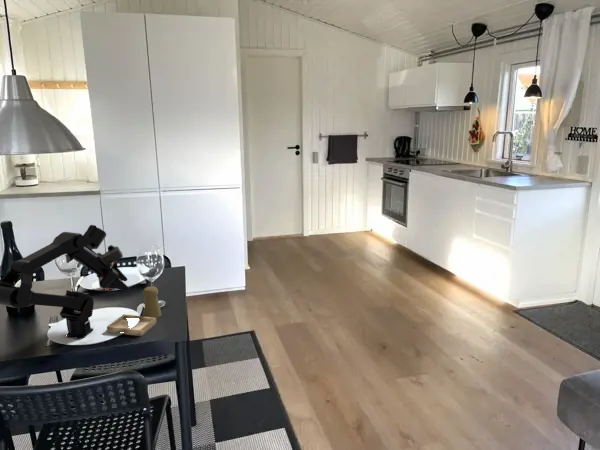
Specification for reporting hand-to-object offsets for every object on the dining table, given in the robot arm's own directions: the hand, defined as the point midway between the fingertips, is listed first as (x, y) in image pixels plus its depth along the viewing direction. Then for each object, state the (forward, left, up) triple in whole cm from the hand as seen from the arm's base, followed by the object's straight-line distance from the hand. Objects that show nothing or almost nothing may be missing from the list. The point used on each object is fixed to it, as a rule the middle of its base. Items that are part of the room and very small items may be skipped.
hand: (127, 284), depth 160 cm
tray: (+4, -5, -13) cm, 15 cm away
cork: (+6, +5, -14) cm, 16 cm away
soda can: (-26, +24, -14) cm, 38 cm away
